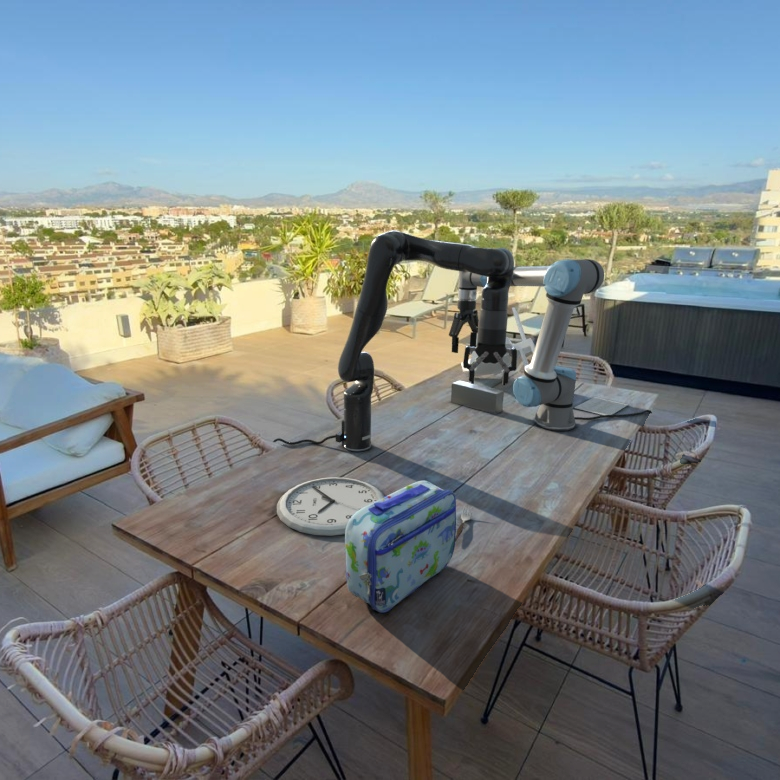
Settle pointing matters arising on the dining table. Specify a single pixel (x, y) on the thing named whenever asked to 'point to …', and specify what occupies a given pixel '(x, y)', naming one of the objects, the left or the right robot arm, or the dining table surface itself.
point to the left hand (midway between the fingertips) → (488, 384)
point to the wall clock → (325, 504)
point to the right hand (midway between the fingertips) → (463, 350)
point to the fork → (464, 518)
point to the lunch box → (399, 543)
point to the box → (477, 397)
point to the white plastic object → (521, 348)
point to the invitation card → (601, 406)
